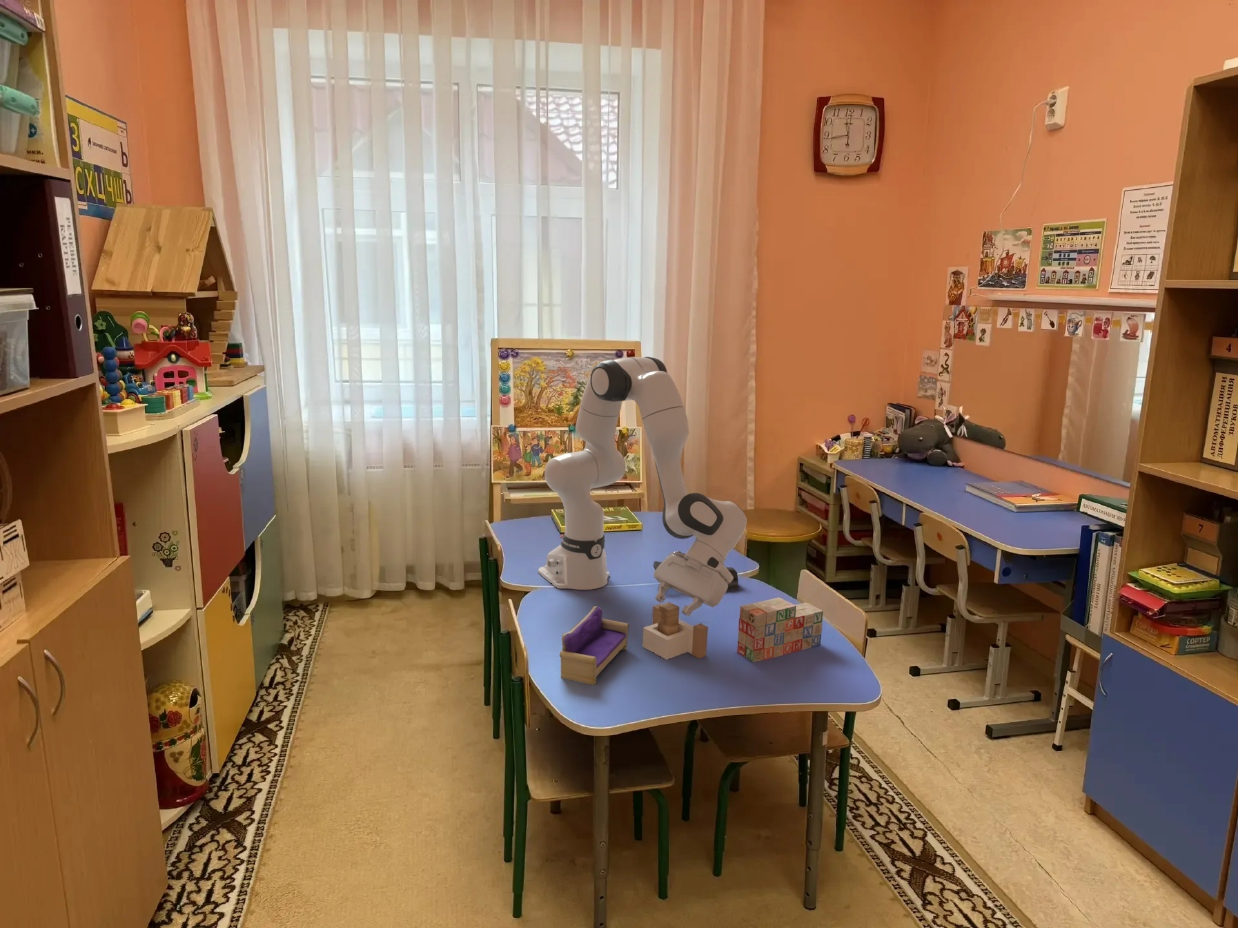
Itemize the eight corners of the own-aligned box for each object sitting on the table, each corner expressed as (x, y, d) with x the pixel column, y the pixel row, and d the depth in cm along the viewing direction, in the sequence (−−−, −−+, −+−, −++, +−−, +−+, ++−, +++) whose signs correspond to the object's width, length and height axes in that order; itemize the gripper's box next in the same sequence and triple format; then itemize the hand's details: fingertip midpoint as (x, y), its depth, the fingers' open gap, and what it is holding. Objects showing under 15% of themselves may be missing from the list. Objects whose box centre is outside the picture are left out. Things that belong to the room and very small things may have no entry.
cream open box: (631, 640, 205) (632, 612, 203) (658, 631, 211) (660, 603, 209) (678, 666, 193) (680, 636, 191) (706, 655, 198) (707, 626, 197)
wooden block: (655, 647, 202) (657, 605, 199) (667, 643, 204) (669, 601, 202) (666, 653, 199) (668, 610, 196) (678, 649, 201) (680, 606, 199)
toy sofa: (594, 687, 182) (595, 644, 180) (558, 679, 185) (559, 636, 183) (628, 649, 201) (630, 609, 199) (596, 642, 204) (597, 603, 202)
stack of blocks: (803, 636, 211) (807, 590, 209) (820, 645, 206) (825, 599, 203) (736, 652, 201) (739, 604, 198) (752, 663, 196) (756, 614, 193)
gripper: (667, 542, 210) (636, 586, 206) (727, 566, 194) (694, 615, 190) (679, 555, 213) (649, 599, 210) (738, 580, 198) (707, 628, 194)
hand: (671, 607), depth 200 cm, fingers open, 8 cm apart
